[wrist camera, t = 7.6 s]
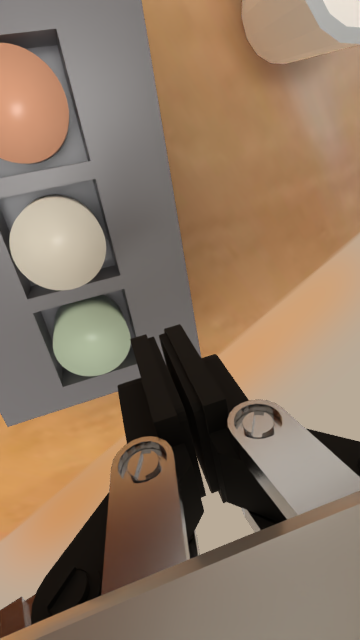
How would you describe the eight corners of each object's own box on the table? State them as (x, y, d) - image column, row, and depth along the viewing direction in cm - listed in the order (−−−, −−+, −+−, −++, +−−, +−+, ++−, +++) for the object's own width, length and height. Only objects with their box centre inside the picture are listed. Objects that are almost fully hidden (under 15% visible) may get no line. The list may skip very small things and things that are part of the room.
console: (123, 6, 19) (136, -29, 16) (185, 340, 29) (202, 363, 26) (-159, 36, 17) (-218, 2, 13) (15, 392, 27) (7, 426, 23)
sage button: (114, 284, 24) (120, 299, 21) (130, 343, 26) (137, 363, 23) (44, 303, 23) (41, 321, 20) (66, 362, 25) (66, 385, 23)
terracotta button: (51, 54, 18) (49, 36, 15) (79, 155, 20) (81, 153, 18) (-47, 67, 17) (-67, 50, 15) (-7, 171, 19) (-18, 172, 17)
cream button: (88, 186, 20) (92, 190, 18) (109, 264, 22) (115, 277, 20) (3, 204, 19) (-7, 210, 17) (33, 283, 21) (29, 300, 19)
